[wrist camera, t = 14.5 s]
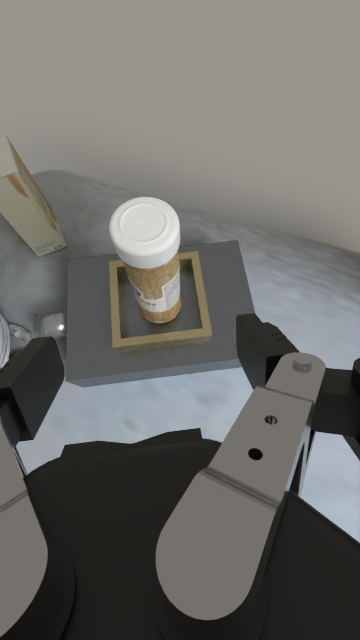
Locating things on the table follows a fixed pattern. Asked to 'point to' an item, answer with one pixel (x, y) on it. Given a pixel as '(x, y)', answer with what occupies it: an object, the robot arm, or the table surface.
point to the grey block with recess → (142, 335)
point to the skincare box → (26, 204)
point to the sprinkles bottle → (149, 254)
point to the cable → (2, 338)
